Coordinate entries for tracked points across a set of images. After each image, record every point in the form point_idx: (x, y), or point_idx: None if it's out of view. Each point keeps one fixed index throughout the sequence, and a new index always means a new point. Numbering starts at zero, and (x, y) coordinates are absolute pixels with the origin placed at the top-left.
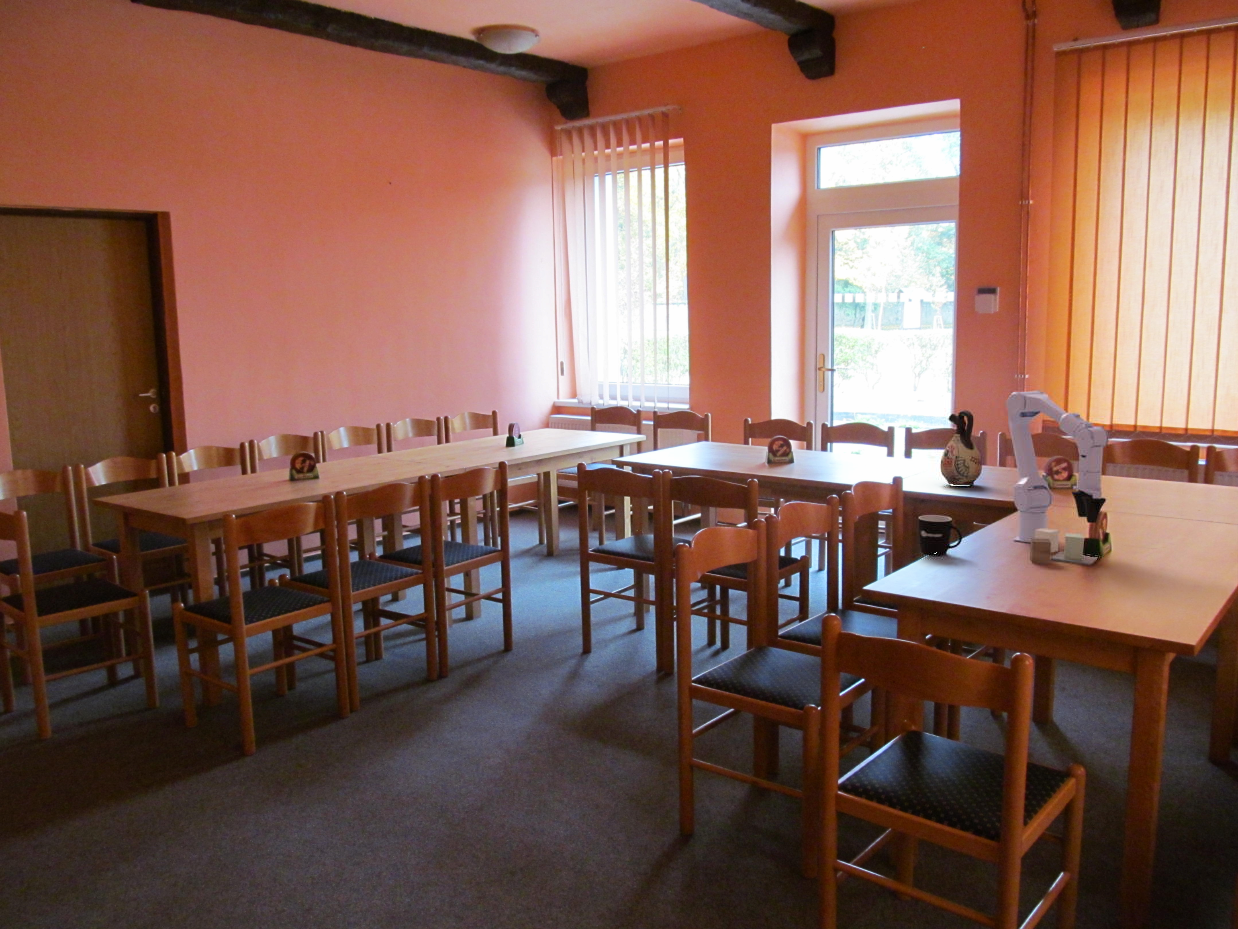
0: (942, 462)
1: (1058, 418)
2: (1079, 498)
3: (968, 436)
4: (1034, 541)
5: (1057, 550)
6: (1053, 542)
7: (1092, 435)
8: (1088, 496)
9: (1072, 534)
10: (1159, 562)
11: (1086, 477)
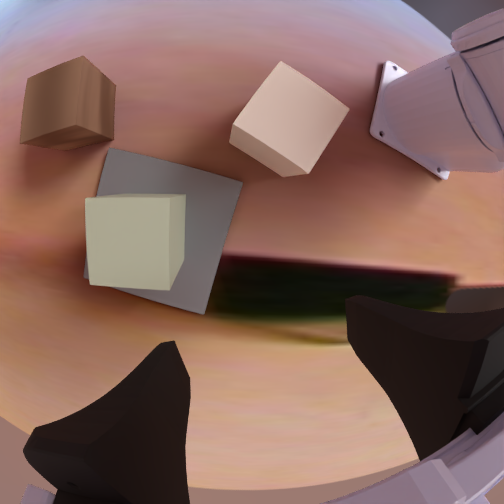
0: None
1: None
2: (427, 366)
3: None
4: (27, 83)
5: (281, 175)
6: (256, 152)
7: None
8: (423, 430)
9: (144, 234)
10: (214, 430)
11: None
